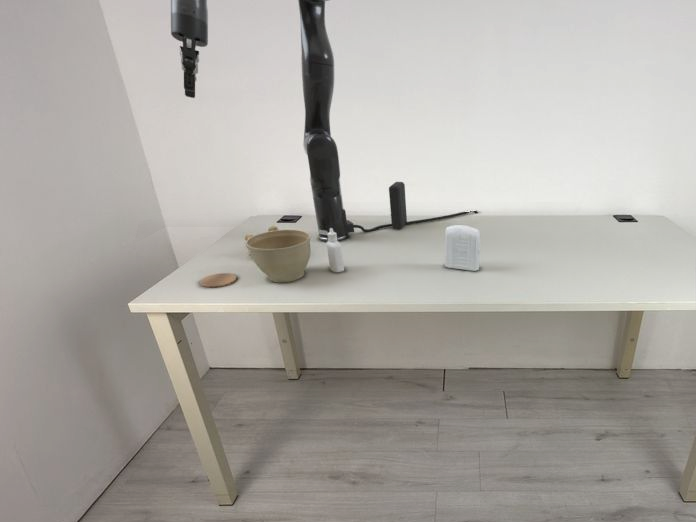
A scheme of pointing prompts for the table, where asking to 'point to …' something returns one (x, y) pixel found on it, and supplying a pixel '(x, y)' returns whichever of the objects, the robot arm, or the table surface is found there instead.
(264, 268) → the planter bowl
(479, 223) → the table surface
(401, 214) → the card reader
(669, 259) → the table surface
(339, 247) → the eye dropper bottle
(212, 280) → the cork coaster
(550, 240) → the table surface
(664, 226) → the table surface
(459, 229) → the white arched tombstone
